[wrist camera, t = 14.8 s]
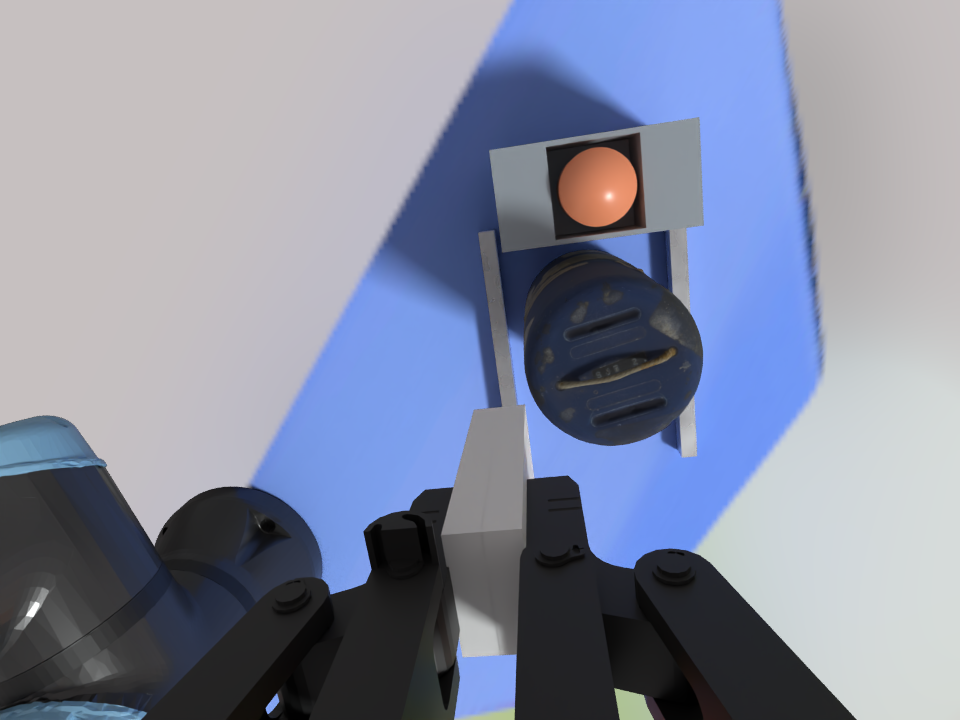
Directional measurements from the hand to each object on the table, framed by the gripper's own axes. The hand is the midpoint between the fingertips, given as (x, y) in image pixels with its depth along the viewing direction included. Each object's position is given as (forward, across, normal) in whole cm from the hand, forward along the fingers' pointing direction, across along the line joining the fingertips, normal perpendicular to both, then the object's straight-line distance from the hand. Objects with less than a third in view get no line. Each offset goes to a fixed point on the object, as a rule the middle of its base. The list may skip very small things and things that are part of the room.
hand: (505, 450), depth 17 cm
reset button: (+24, +6, +7) cm, 26 cm away
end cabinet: (+30, +6, +7) cm, 32 cm away
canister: (+31, +5, -2) cm, 31 cm away
